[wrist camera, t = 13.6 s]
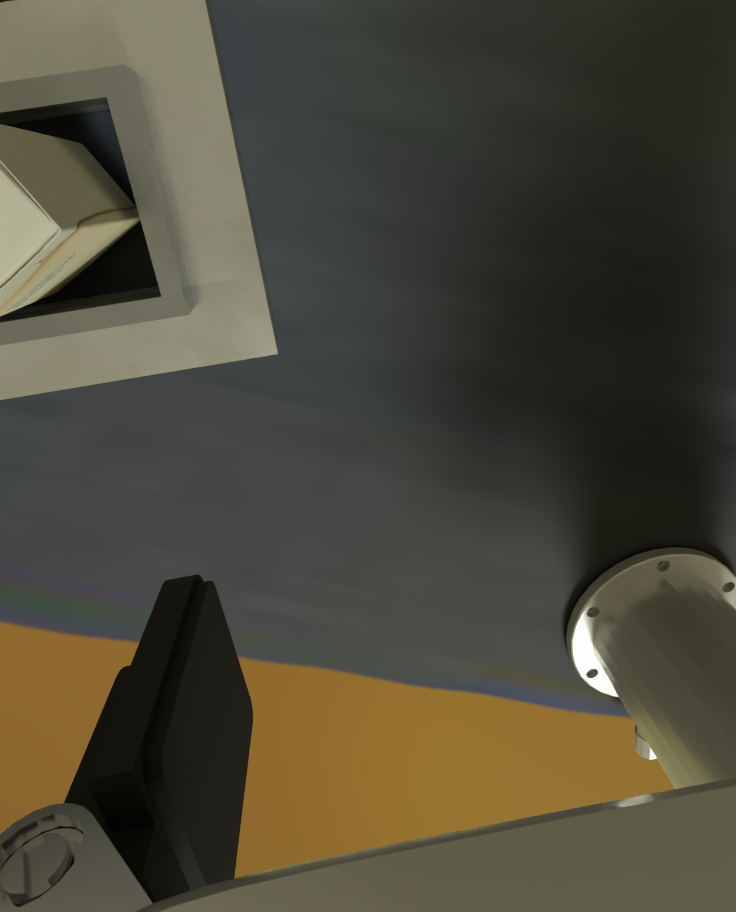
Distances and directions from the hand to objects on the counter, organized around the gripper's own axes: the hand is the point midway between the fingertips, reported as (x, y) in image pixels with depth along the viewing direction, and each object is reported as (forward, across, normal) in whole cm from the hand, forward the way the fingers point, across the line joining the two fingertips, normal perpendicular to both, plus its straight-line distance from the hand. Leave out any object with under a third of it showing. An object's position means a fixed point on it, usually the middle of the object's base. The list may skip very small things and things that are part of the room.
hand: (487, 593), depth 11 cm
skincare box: (+25, +14, -8) cm, 29 cm away
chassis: (+25, +14, -8) cm, 29 cm away
